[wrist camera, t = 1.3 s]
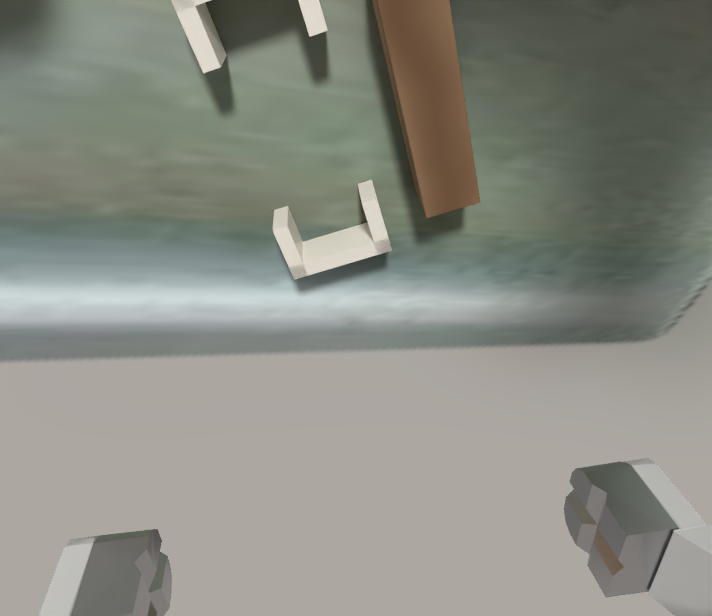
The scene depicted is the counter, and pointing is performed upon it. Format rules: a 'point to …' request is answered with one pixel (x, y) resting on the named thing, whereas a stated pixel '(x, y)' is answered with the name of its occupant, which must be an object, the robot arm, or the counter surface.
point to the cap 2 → (332, 239)
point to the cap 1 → (206, 38)
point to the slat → (429, 100)
